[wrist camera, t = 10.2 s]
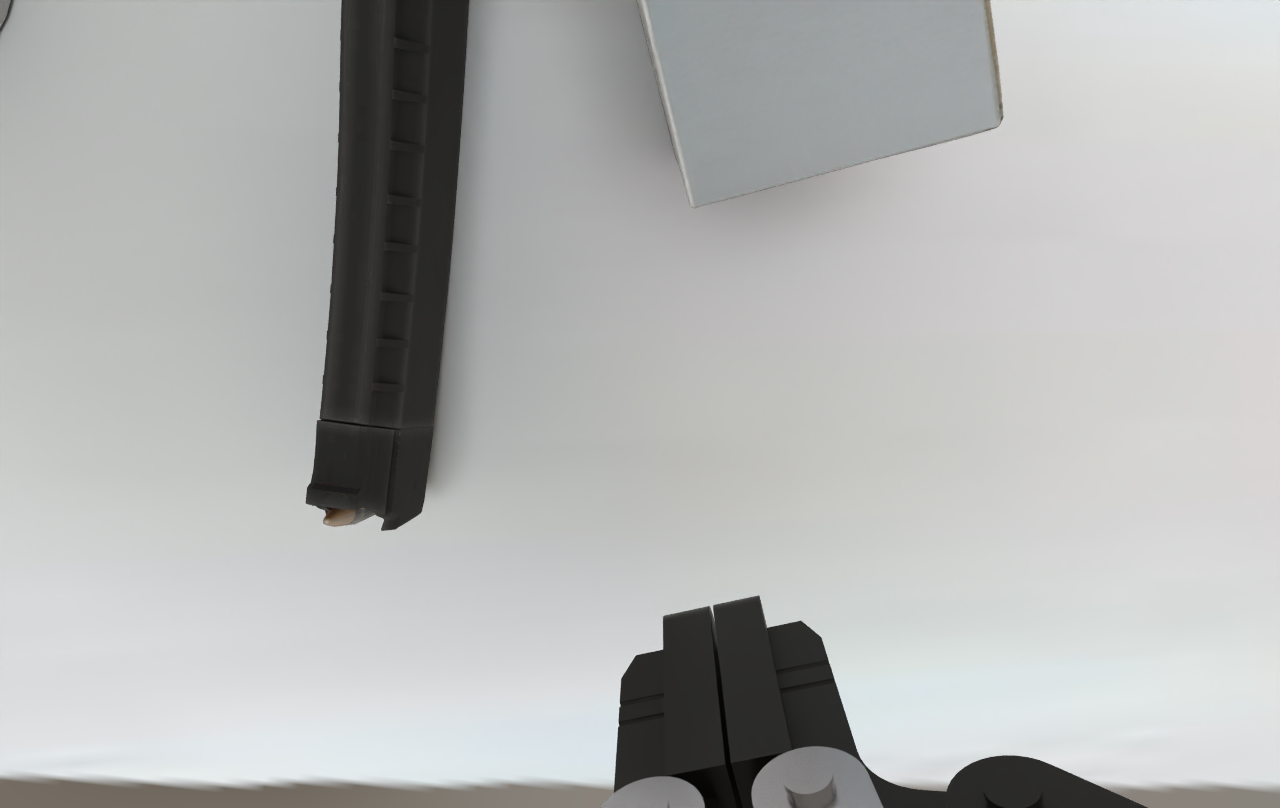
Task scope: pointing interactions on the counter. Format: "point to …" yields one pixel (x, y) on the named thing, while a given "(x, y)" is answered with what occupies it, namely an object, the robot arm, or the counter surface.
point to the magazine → (389, 255)
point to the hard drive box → (815, 84)
